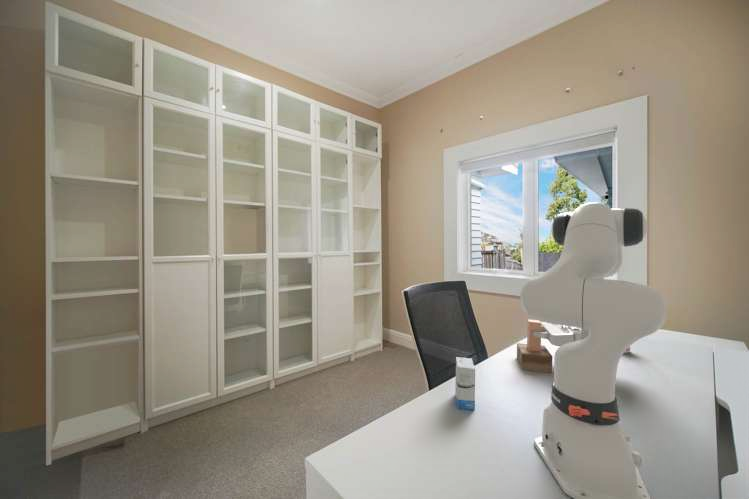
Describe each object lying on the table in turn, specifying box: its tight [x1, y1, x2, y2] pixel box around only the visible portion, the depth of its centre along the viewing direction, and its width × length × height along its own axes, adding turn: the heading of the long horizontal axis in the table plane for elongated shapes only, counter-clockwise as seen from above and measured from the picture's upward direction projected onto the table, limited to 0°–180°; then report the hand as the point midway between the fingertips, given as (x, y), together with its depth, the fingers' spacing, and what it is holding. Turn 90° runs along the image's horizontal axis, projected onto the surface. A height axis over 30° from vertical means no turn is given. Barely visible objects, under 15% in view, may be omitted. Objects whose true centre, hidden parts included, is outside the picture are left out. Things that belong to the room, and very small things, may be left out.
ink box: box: [454, 356, 476, 411], centre depth 88 cm, size 8×5×12 cm, turn 168°
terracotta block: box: [526, 319, 542, 352], centre depth 116 cm, size 4×4×11 cm
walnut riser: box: [516, 342, 553, 374], centre depth 116 cm, size 12×10×6 cm
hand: (531, 331), depth 116 cm, fingers open, 5 cm apart
